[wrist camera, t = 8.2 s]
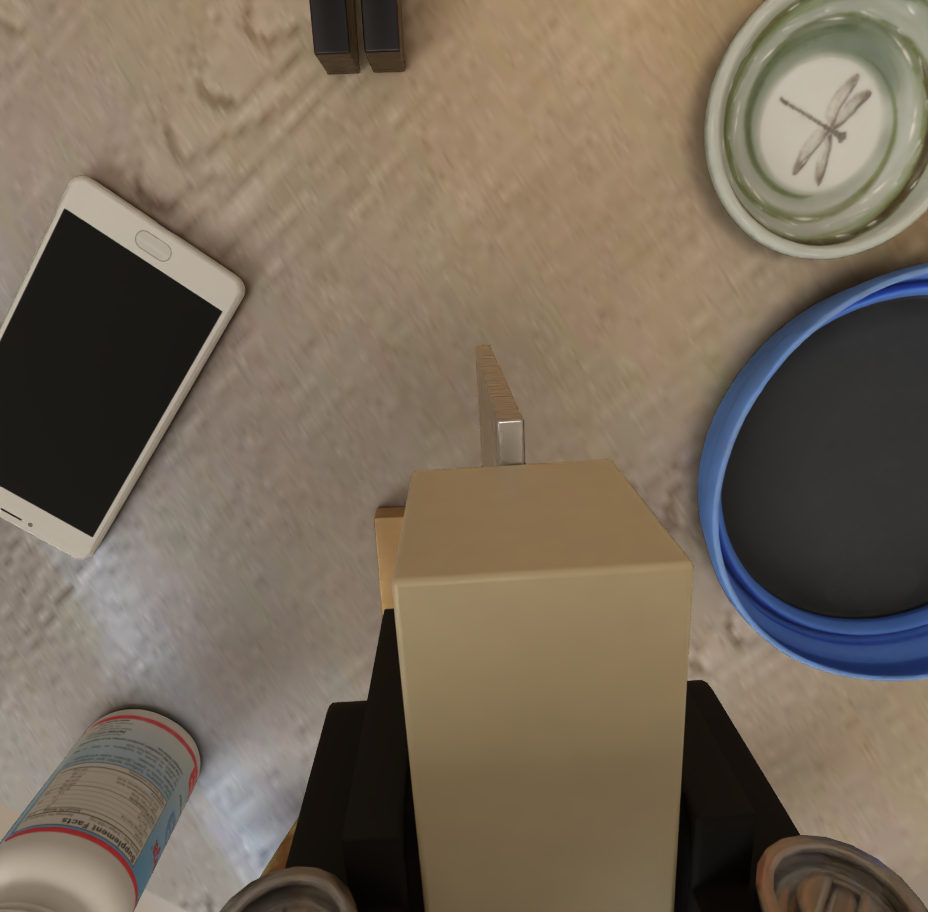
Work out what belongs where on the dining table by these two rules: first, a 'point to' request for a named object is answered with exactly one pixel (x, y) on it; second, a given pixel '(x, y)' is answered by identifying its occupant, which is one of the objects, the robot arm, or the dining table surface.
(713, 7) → the dining table surface
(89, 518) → the smartphone
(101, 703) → the dining table surface
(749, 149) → the saucer
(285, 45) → the dining table surface
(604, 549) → the knife
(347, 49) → the knife holder
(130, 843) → the pill bottle
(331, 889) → the robot arm
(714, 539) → the bowl
